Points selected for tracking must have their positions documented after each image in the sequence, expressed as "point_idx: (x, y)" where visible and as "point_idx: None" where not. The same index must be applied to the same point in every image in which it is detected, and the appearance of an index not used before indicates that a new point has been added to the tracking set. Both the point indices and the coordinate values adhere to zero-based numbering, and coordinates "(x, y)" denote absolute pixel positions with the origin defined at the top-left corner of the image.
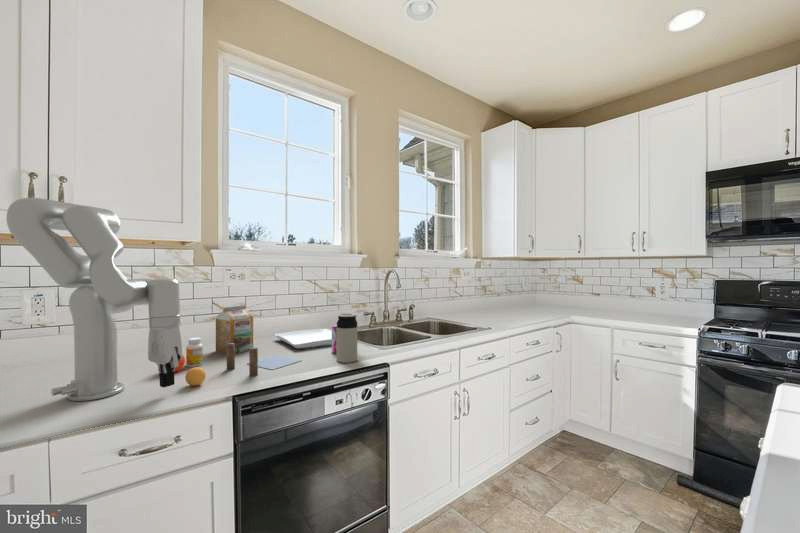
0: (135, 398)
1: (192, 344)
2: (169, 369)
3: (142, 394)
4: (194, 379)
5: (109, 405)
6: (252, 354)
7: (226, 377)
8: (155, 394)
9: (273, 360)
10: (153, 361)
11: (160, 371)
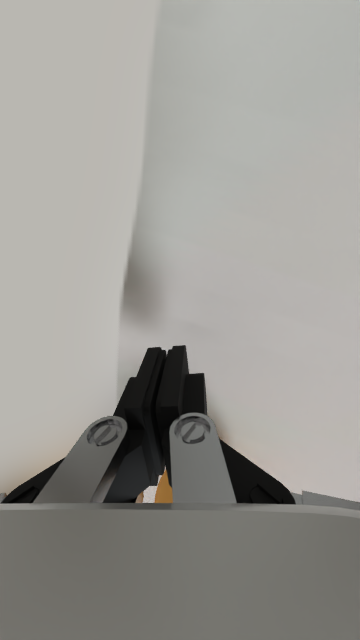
0: (257, 213)
1: None
2: (51, 475)
3: (296, 267)
4: (161, 483)
5: (263, 23)
6: None
7: None
8: (229, 313)
9: None
10: (176, 517)
11: (172, 424)
